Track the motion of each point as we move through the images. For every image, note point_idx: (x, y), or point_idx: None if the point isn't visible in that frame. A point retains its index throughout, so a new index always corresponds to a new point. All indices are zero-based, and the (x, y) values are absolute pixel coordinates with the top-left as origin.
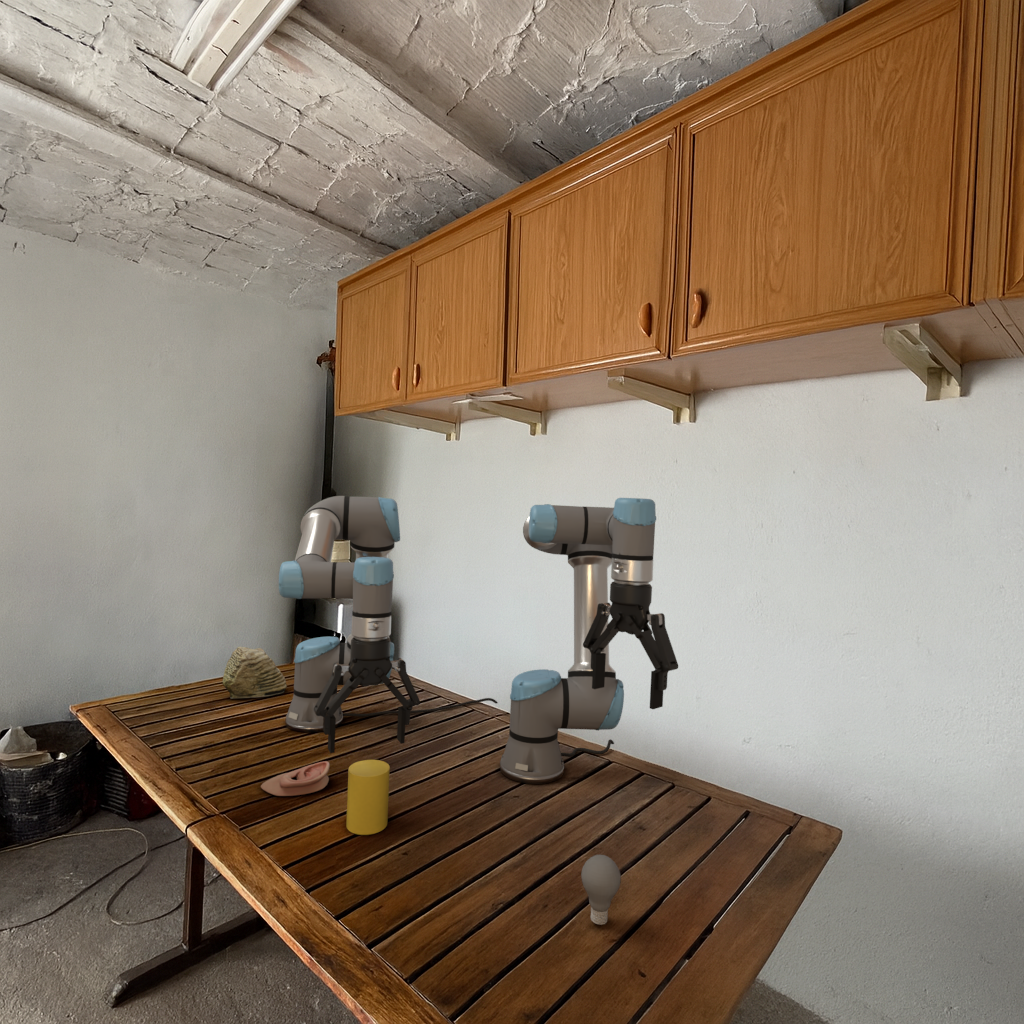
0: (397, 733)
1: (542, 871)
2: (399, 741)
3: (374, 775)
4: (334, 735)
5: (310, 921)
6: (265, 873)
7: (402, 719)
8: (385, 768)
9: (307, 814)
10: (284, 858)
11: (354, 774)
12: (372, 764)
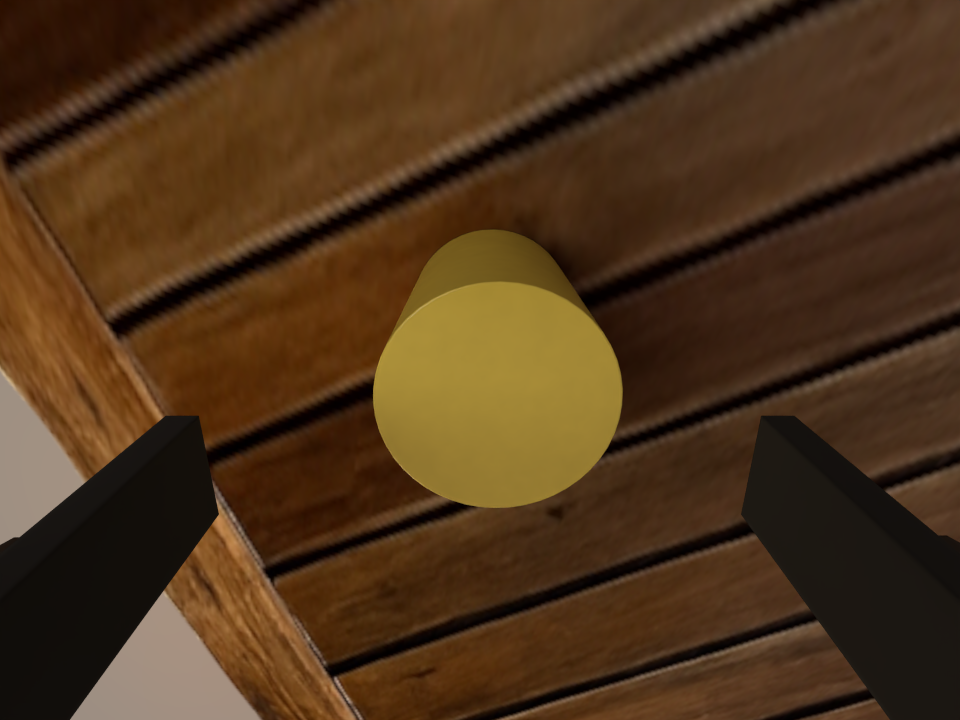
0: (786, 449)
1: (844, 686)
2: (749, 484)
3: (499, 503)
4: (135, 618)
5: (273, 664)
6: None
7: (882, 695)
8: (585, 442)
9: (272, 134)
10: None
11: (396, 456)
12: (529, 367)
